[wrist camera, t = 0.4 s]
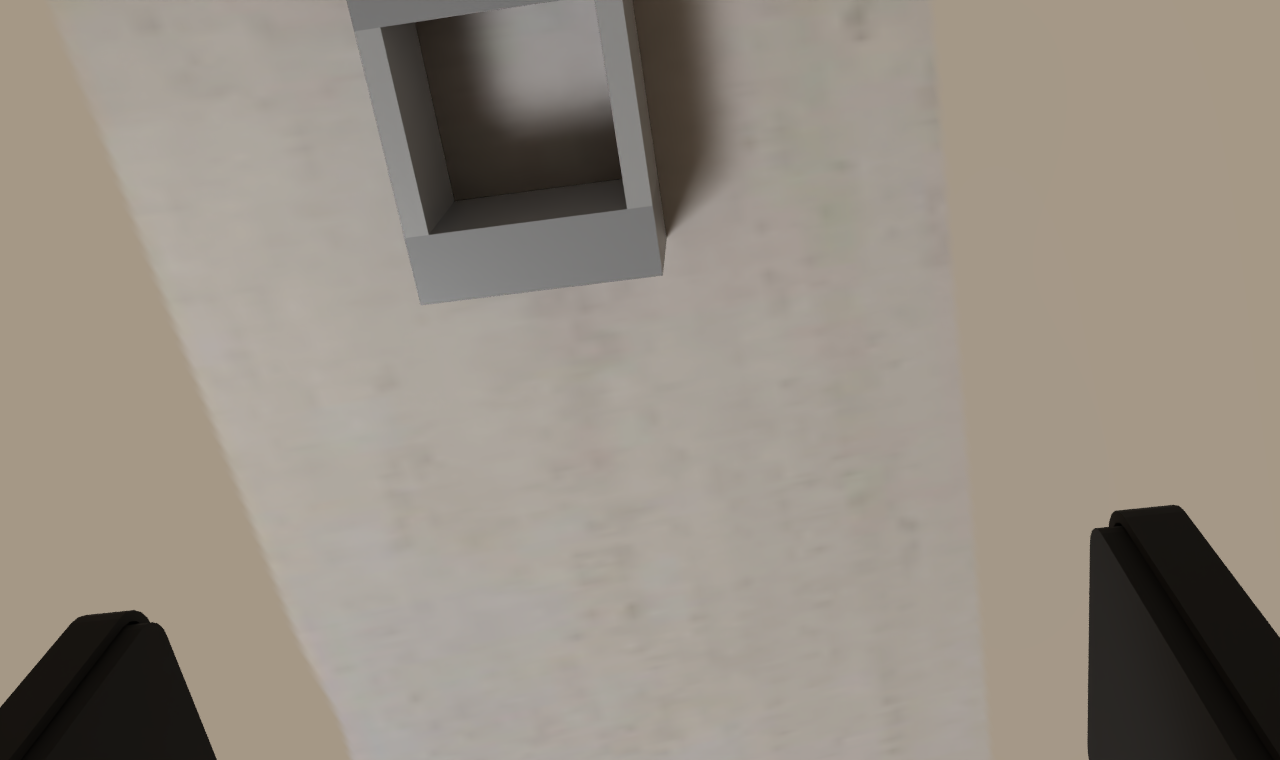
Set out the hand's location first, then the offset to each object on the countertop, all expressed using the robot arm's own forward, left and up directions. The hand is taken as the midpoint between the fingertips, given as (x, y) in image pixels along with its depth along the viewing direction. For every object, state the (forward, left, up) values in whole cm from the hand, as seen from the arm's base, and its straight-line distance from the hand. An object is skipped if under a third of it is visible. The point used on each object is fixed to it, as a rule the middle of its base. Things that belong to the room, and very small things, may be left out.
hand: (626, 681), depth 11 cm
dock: (-3, -5, -29) cm, 29 cm away
